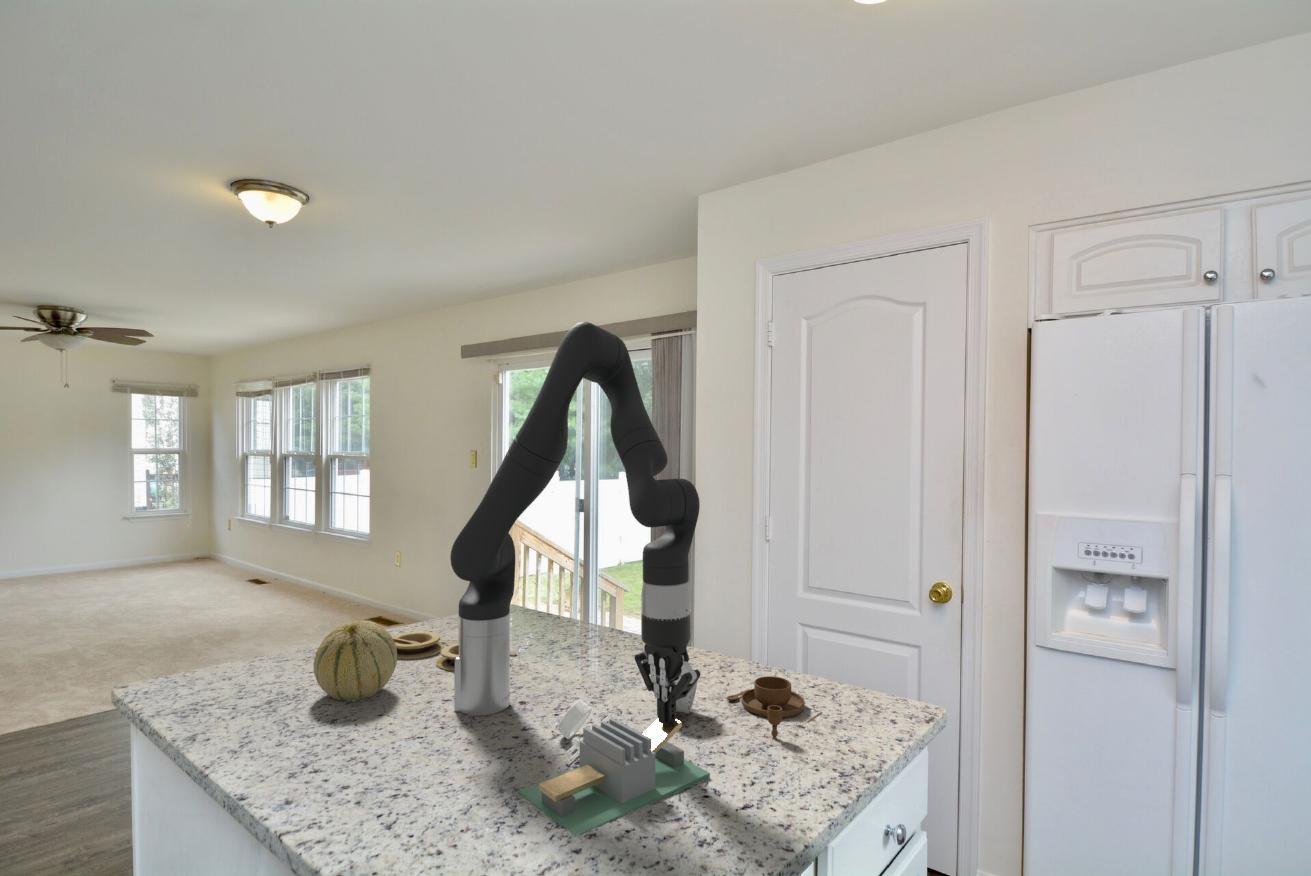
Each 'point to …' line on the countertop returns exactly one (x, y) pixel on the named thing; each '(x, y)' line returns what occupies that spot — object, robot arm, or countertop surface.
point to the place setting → (772, 701)
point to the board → (611, 808)
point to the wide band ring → (575, 724)
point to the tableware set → (428, 648)
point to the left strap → (571, 783)
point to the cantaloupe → (355, 660)
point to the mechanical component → (686, 701)
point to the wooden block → (661, 733)
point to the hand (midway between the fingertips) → (666, 722)
